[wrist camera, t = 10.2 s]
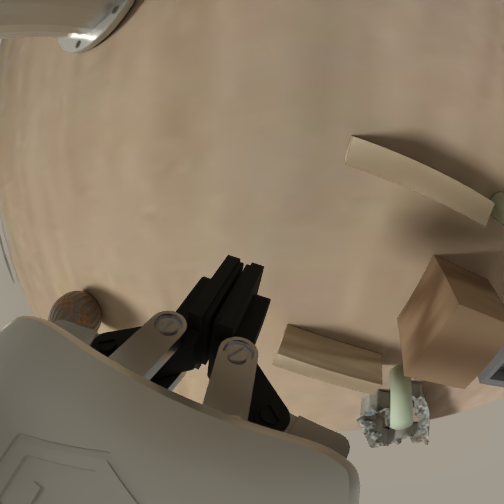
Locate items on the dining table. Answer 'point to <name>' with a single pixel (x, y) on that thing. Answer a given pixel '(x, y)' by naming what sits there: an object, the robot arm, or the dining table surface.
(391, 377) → the goal posts
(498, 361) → the tray
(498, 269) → the dining table surface
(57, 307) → the vase
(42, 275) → the dining table surface
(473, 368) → the walnut block
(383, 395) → the grey jagged open ring
